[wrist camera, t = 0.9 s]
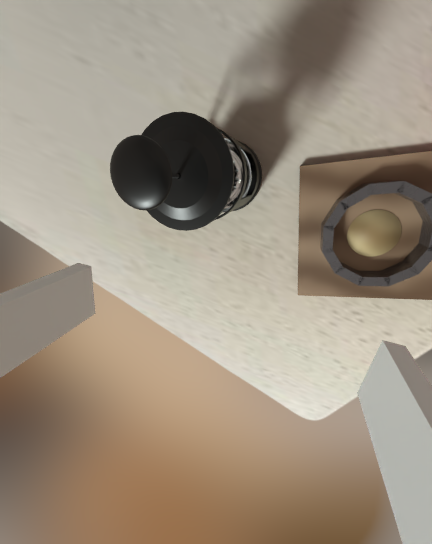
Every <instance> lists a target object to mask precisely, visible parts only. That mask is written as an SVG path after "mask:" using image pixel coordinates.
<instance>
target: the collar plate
mask: <svg viewBox="0 0 432 544" xmlns="http://www.w3.org/2000/svg"><path fill="white" fill-rule="evenodd" d="M388 181H406V182H408V183H410V184H412V185H414V186H417V187H419V188H421V189H423V190H425V191H427V192H429V193H432V151H426V152H418V153H409V154H400V155H392V156H383V157H375V158H366V159H357V160H349V161H340V162H331V163H323V164H314V165H306V166H300V194H299V253H298V295H308V296H337V297H366V298H394V299H423V300H432V261H431V262H430V263H429V264H428V265H427V266H426V267H425V268H424V269H423V270H422V271H421V272H420V274H418V275H416V276H413V277H411V278H408V279H406V280H403V281H401V282H398V283H396V284H394V285H391V286H389V287H388V286H358V285H356V284H354V283H352V282H350V281H349V280H347V279H345V278H343V277H341V276H339V275H337V274H335V273H334V271H333V269H332V268H331V266H330V264H329V263H328V261H327V259H326V258H325V256H324V254H323V253H322V251H321V248H320V242H321V223H322V221H323V220H324V218H325V217H326V215H327V214H328V212H329V211H330V209H331V208H332V206H333V205H334V203H335V201H336V200H337V199H339V198H340V197H342V196H344V195H345V194H347V193H349V192H350V191H352V190H354V189H356V188H357V187H359V186H361V185H362V184H364V183H365V184H366V183H377V182H388ZM421 227H422V219H421V217H420V215H419V213H418V211H417V209H416V208H415V206H414V204H413V202H412V201H410V200H408V199H405V198H403V197H401V196H399V195H397V194H395V193H390V194H377V195H370V196H369V197H367V198H365V199H363V200H362V201H360V202H358V203H356V204H355V205H353V206H351V207H349V208H348V209H347V210H346V212H345V213H344V215H343V216H342V218H341V219H340V220H339V222H338V223H337V225H336V226H335V228H334V236H333V251H334V253H335V254H336V256H337V258H338V259H339V261H340V262H342V263H344V264H346V265H348V266H350V267H352V268H354V269H356V270H358V271H381V270H383V269H385V268H388V267H390V266H392V265H395V264H397V263H399V262H401V261H403V260H404V259H405V258H406V257H407V256H408V254H409V253H410V252H411V251H412V250H413V249H414V248H415V246H416V245H417V244H418V243H419V238H420V232H421Z"/></svg>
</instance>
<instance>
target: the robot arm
mask: <svg viewBox="0 0 432 544" xmlns="http://www.w3.org/2000/svg"><path fill="white" fill-rule="evenodd" d="M93 314H95V305H94V294H93V282H92V270H91V266H88V265H84V264H80V263H77V264H75V265H72V266H70V267H67V268H65V269H62V270H59V271H57V272H54V273H52V274H50V275H47V276H44V277H41V278H39V279H37V280H34V281H31V282H29V283H26V284H24V285H21V286H18V287H16V288H13V289H11V290H8V291H6V292H3V293H1V294H0V378H1V377H2V376H4V375H5V374H7V373H8V372H10V371H11V370H13V369H14V368H15V367H17V366H18V365H20V364H21V363H23V362H24V361H26V360H27V359H29V358H30V357H32V356H33V355H35V354H36V353H38V352H39V351H41V350H42V349H44V348H45V347H47V346H48V345H49V344H51V343H52V342H54V341H55V340H57V339H58V338H60V337H61V336H62V335H64V334H66V333H67V332H68V331H70V330H71V329H73V328H74V327H76V326H77V325H79V324H80V323H82V322H83V321H85V320H86V319H88V318H89V317H91V316H92V315H93ZM357 394H358V397H359V400H360V404H361V407H362V410H363V413H364V417H365V420H366V423H367V427H368V430H369V433H370V436H371V440H372V443H373V447H374V450H375V453H376V457H377V460H378V463H379V467H380V470H381V473H382V477H383V480H384V483H385V486H386V490H387V493H388V496H389V500H390V503H391V507H392V510H393V513H394V516H395V520H396V523H397V526H398V530H399V533H400V536H401V539H402V543H403V544H432V385H431V384H430V382H429V381H428V379H427V378H426V376H425V375H424V373H423V372H422V371H421V369H420V367H419V366H418V364H417V363H416V361H415V360H414V358H413V357H412V355H411V354H410V352H409V351H408V349H407V348H406V346H403V345H399V344H395V343H391V342H387V341H383V340H382V342H381V345H380V347H379V349H378V351H377V353H376V355H375V357H374V359H373V361H372V363H371V365H370V367H369V370H368V372H367V374H366V376H365V378H364V380H363V382H362V384H361V386H360V388H359V390H358V392H357Z"/></svg>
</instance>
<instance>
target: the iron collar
mask: <svg viewBox="0 0 432 544" xmlns="http://www.w3.org/2000/svg"><path fill="white" fill-rule="evenodd" d="M390 193H395V194H397V195H399V196H401V197H403V198H405V199H408V200H410V201H412V202H413V204H414V206H415V208H416V209H417V211H418V213H419V215H420V217H421V219H422V227H421V232H420V238H419V243H418V244H417V245H416V246H415V248H414V249H413V250H412V251H411V252H410V253H409V254H408V256H407V257H406V258H405V259H404V260H403V261H401V262H399V263H397V264H395V265H392V266H390V267H388V268H385V269H383V270H381V271H358V270H356V269H354V268H352V267H350V266H348V265H346V264H344V263H342V262H340V261H339V259H338V258H337V256H336V254H335V253H334V251H333V236H334V228H335V226H336V225H337V223H338V222H339V220H340V219H341V218H342V216H343V215H344V213H345V212H346V210H347V209H348V208H349V207H351V206H353V205H355V204H356V203H358V202H360V201H362V200H363V199H365V198H367V197H369V196H370V195H377V194H390ZM320 248H321V251H322V253H323V254H324V256H325V258H326V259H327V261H328V263H329V264H330V266H331V268H332V269H333V271H334V273H335V274H337V275H339V276H341V277H343V278H345V279H347V280H349V281H350V282H352V283H354V284H356V285H358V286H388V287H389V286H391V285H394V284H396V283H398V282H401V281H403V280H406V279H408V278H411V277H413V276H416V275H418V274H420V272H421V271H422V270H423V269H424V268H425V267H426V266H427V265H428V264H429V263H430V262H431V261H432V193H429V192H427V191H425V190H423V189H421V188H419V187H417V186H414V185H412V184H410V183H408V182H406V181H388V182H377V183H366V184H365V183H364V184H362V185H361V186H359V187H357V188H356V189H354V190H352V191H350V192H349V193H347V194H345V195H344V196H342V197H340V198H339V199H337V200H336V201H335V203H334V205H333V206H332V208H331V209H330V211H329V212H328V214H327V215H326V217H325V218H324V220H323V221H322V223H321V242H320Z"/></svg>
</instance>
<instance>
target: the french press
mask: <svg viewBox="0 0 432 544" xmlns="http://www.w3.org/2000/svg"><path fill="white" fill-rule="evenodd" d="M222 134H223V135H225V136H226V137H227V138H228V139H225V138H224V137H223V135H222ZM251 170H252V181H251ZM110 173H111V179H112V183H113V185H114V188H115V190H116V192H117V193H118V195H119V196H120V197H121V198H122V200H123V201H124V202H126V203H127V204H128V205H130V206H132V207H133V208H136V209H139V210H147V211H148V213H149V214H150V215H151V216H152V217H153V218H154V219H156V220H157V221H158V222H160V223H161V224H163V225H165V226H167V227H169V228H173V229H176V230H186V231H187V230H194V229H198V228H201V227H203V226H206V225H207V224H209V223H210V222H212V221H214V220H216V219H219V218H221V217H223V216H224V215H226V214H228V213H229V212H231V211H236V210H239V209H241V208H243V207H245V206H246V205H248V204H249V203H250V202H251V201H252V200H253V199H254V197H255V196H256V195H257V193H258V191H259V188H260V185H261V179H262V171H261V165H260V162H259V160H258V158H257V156H256V154H255V153H254V152H253V151H252V149H251V148H249V147H248V146H247V145H245V144H243V143H241V142H238V141H236V140H235V139H233V138H232V137H230V136H229V135H228V134H226V133H225V132H223V131H222V130H220V129H217V128H216V127H215V126H214V125H212V124H211V123H210V122H208V121H207V120H206V119H204V118H202V117H200V116H198V115H196V114H192V113H187V112H172V113H169V114H166V115H163V116H161V117H159V118H158V119H156V120H154V121H153V122H152V123H151V124H150V125H149V126H148V127H147V128H146V129H145V130H144V132H143V133H142V135H133V136H130V137H127V138H126V139H124V140H122V141H121V142H120V143H119V144H118V145H117V147H116V148H115V150H114V152H113V155H112V158H111V163H110ZM250 183H251V185H250ZM249 187H250V188H249ZM222 212H225V213H224V214H222V215H220V214H221V213H222ZM219 215H220V216H219Z"/></svg>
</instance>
